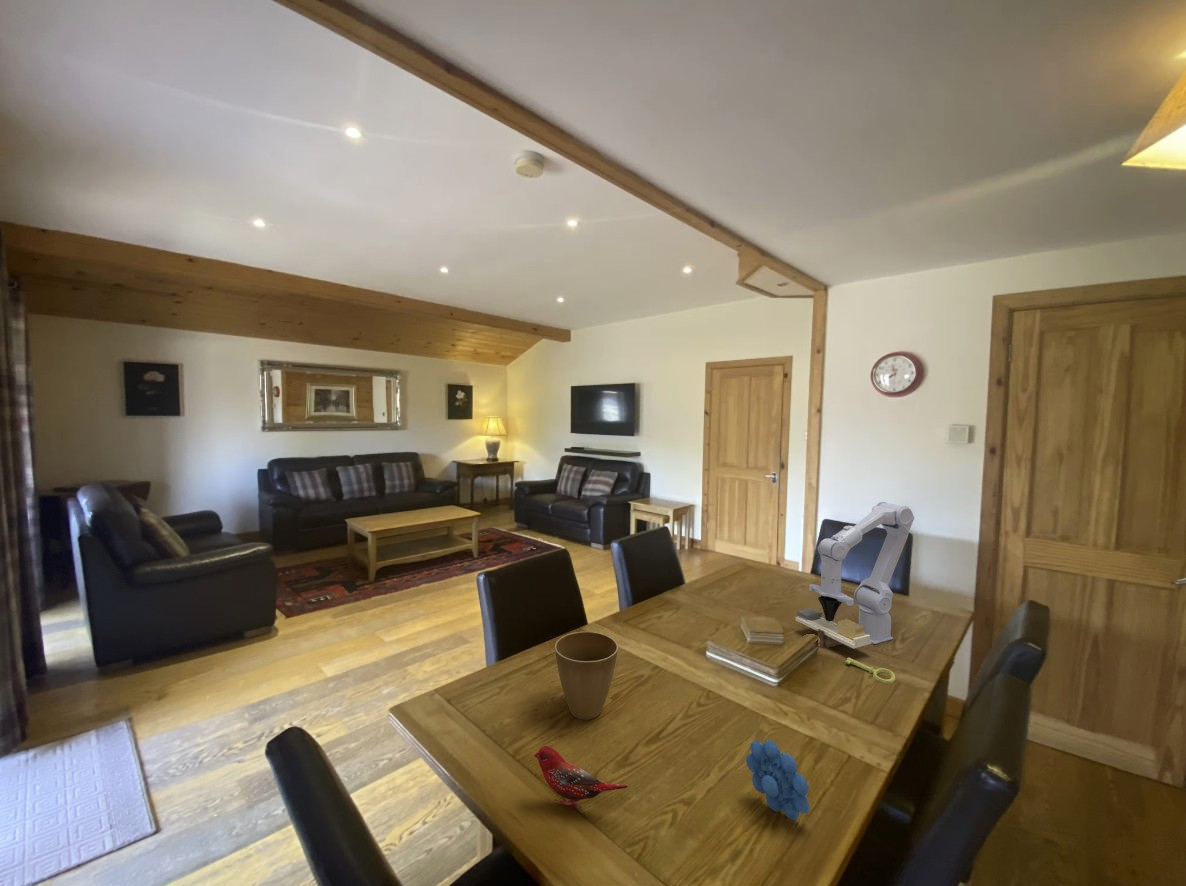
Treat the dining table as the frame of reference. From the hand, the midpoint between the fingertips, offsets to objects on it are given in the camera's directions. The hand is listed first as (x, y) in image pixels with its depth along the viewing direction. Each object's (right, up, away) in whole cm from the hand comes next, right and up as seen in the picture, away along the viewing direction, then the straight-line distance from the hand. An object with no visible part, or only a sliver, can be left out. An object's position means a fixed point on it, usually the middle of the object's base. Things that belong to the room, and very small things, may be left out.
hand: (829, 620), depth 153 cm
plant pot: (-76, -8, -37) cm, 85 cm away
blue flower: (-42, -10, -67) cm, 80 cm away
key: (+3, -9, -17) cm, 20 cm away
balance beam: (0, -3, -1) cm, 3 cm away
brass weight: (+3, -3, -7) cm, 8 cm away
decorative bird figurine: (-77, -10, -66) cm, 102 cm away
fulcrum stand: (0, -7, 0) cm, 7 cm away
